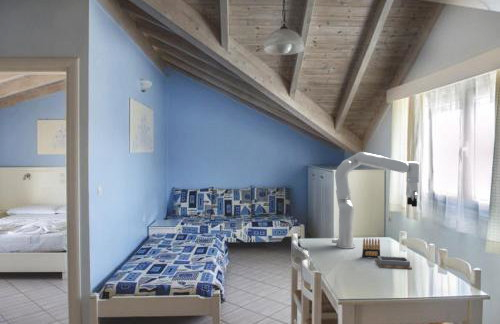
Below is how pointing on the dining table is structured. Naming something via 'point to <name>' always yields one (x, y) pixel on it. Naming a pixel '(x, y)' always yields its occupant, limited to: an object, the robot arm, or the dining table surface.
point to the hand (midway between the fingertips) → (411, 205)
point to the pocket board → (393, 262)
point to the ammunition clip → (371, 249)
